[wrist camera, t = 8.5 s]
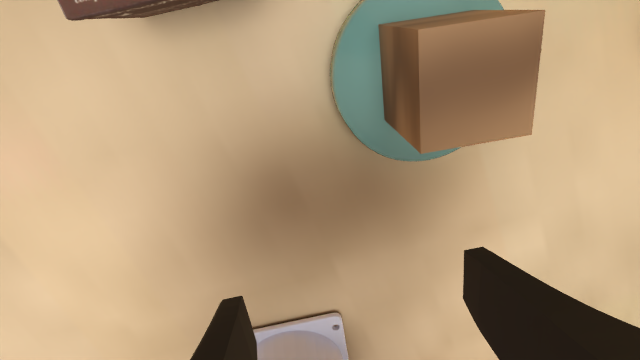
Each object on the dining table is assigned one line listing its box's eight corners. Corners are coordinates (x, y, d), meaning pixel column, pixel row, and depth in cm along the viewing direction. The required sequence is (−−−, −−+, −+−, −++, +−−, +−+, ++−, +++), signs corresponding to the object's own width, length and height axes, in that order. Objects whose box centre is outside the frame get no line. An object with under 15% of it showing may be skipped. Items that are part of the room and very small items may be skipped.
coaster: (489, 133, 22) (508, 144, 21) (340, 162, 22) (347, 175, 20) (496, -40, 19) (521, -46, 17) (316, -10, 18) (322, -12, 16)
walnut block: (469, 105, 19) (531, 134, 15) (384, 119, 19) (420, 153, 15) (473, 9, 17) (545, 10, 13) (378, 24, 17) (418, 29, 13)
